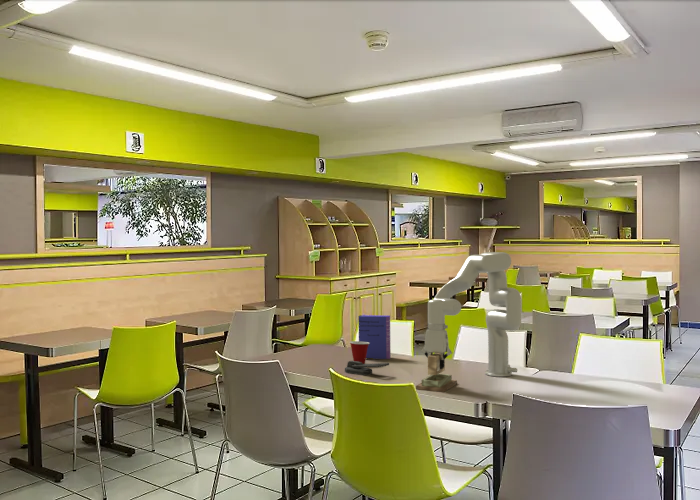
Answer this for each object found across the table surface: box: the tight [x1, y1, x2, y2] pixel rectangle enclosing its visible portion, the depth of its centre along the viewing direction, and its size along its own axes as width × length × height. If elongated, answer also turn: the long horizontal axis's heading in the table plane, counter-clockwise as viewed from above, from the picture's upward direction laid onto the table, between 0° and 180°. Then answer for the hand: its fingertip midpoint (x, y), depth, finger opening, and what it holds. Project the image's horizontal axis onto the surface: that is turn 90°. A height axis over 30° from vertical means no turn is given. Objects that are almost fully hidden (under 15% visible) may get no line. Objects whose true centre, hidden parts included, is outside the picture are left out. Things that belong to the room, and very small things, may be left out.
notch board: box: [415, 373, 458, 393], centre depth 283 cm, size 13×18×4 cm
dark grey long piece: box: [344, 360, 390, 376], centre depth 311 cm, size 9×7×25 cm
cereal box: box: [358, 314, 392, 360], centre depth 355 cm, size 17×5×24 cm, turn 82°
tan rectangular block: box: [427, 353, 446, 376], centre depth 282 cm, size 4×12×8 cm, turn 153°
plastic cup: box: [349, 340, 370, 364], centre depth 338 cm, size 11×11×12 cm
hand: (436, 367), depth 282 cm, fingers closed on tan rectangular block, 4 cm apart
